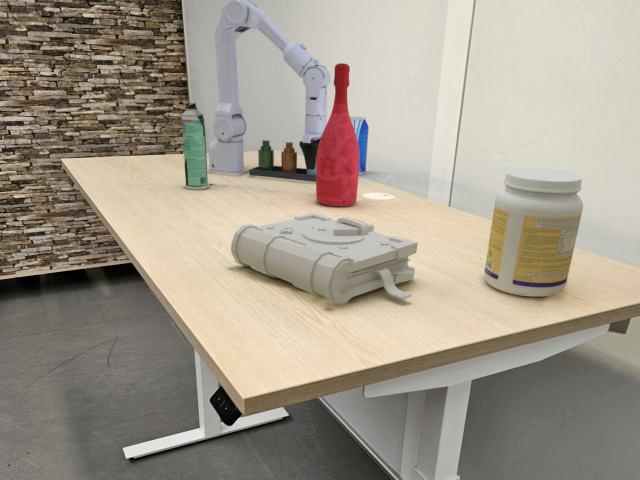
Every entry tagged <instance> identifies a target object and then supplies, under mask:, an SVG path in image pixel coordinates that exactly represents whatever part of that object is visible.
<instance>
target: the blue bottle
mask: <svg viewBox="0 0 640 480" xmlns="http://www.w3.org/2000/svg"><path fill="white" fill-rule="evenodd" d="M316 163H317V158H316ZM306 169H307V168H306ZM307 175H315V176H316V165H315V169H314V170H312V169H307Z"/></svg>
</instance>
